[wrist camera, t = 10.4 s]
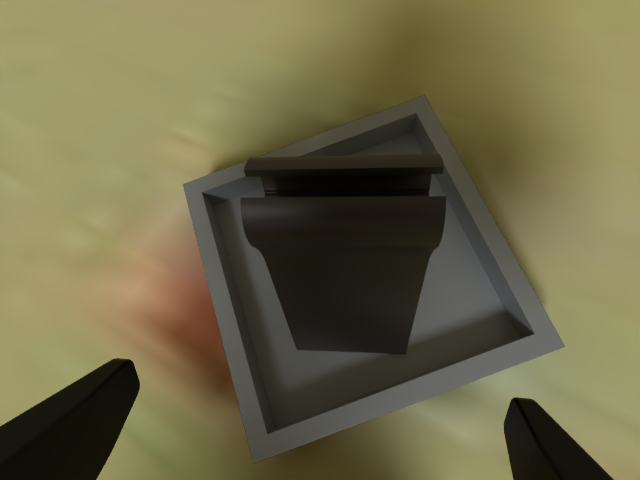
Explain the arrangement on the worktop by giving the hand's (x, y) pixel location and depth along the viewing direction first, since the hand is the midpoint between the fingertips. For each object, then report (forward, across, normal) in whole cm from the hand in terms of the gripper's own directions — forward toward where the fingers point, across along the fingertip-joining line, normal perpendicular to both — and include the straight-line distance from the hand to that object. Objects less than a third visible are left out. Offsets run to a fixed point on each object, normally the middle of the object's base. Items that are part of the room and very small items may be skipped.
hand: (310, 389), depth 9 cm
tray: (+14, 0, +5) cm, 15 cm away
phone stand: (+13, 0, +5) cm, 14 cm away
